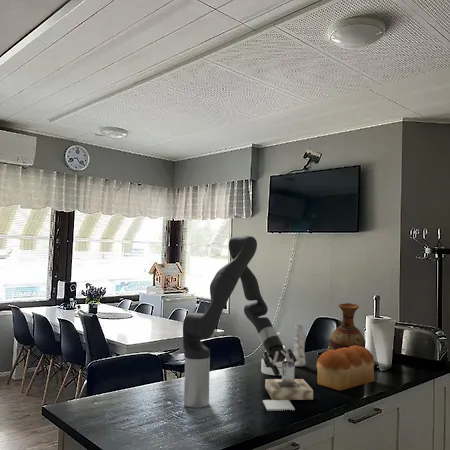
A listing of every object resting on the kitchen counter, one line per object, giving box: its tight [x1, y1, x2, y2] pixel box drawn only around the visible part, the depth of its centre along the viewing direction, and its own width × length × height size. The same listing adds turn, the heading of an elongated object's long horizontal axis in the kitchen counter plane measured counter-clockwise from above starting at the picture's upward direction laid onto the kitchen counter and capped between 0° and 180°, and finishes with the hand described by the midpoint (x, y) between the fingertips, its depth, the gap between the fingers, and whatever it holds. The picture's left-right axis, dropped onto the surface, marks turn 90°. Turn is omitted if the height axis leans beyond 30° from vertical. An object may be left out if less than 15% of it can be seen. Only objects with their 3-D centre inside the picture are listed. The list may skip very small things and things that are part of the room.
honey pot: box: [261, 332, 287, 376], centre depth 219 cm, size 13×13×18 cm
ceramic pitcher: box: [328, 302, 366, 350], centre depth 248 cm, size 20×20×30 cm
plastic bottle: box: [292, 324, 307, 368], centre depth 230 cm, size 6×7×20 cm
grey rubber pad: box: [262, 399, 296, 412], centre depth 169 cm, size 10×10×1 cm
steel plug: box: [281, 361, 296, 388], centre depth 185 cm, size 7×7×12 cm
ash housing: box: [264, 378, 314, 401], centre depth 185 cm, size 16×16×4 cm
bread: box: [315, 345, 376, 391], centre depth 202 cm, size 25×12×15 cm, turn 129°
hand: (286, 373), depth 186 cm, fingers open, 8 cm apart
